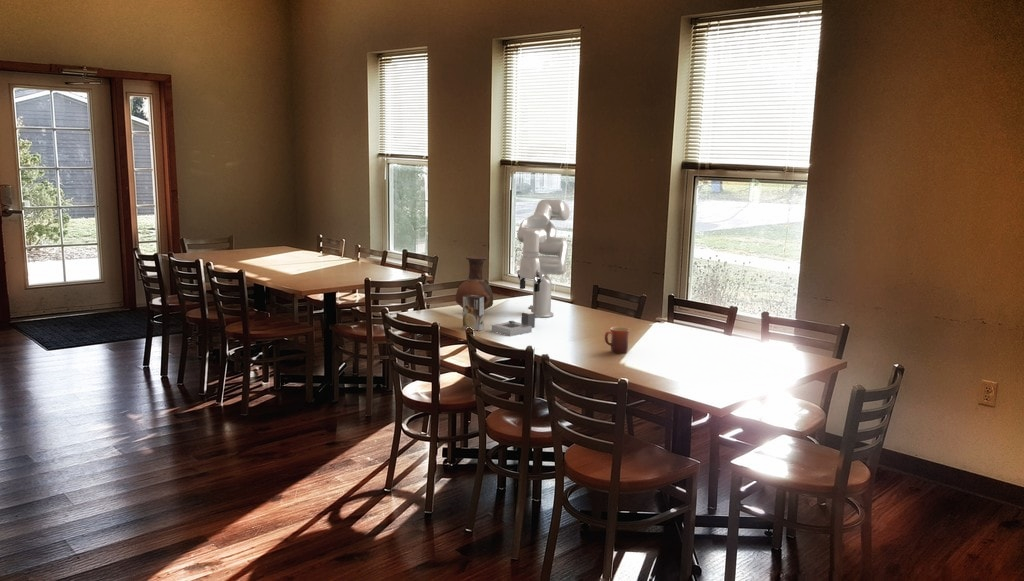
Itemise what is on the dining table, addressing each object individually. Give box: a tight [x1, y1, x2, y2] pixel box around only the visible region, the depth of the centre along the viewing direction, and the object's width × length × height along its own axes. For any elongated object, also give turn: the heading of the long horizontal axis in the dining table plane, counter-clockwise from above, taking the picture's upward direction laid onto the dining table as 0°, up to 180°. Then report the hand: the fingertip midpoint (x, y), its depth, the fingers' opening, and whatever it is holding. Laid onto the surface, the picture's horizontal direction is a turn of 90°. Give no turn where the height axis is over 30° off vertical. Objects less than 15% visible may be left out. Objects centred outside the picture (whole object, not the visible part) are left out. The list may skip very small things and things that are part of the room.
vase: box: [455, 255, 494, 311], centre depth 414 cm, size 25×20×30 cm
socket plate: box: [491, 320, 533, 337], centre depth 377 cm, size 13×14×4 cm
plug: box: [520, 311, 536, 329], centre depth 388 cm, size 5×5×7 cm
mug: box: [604, 326, 631, 354], centre depth 342 cm, size 12×9×10 cm
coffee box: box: [462, 295, 485, 332], centre depth 380 cm, size 9×6×16 cm
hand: (529, 290), depth 385 cm, fingers open, 9 cm apart
